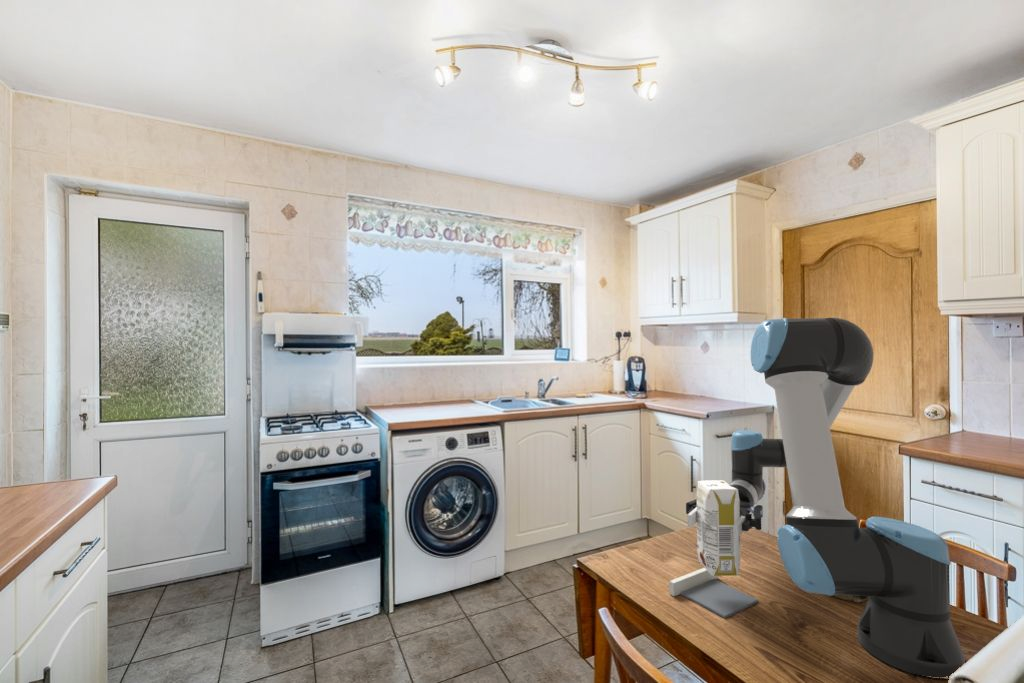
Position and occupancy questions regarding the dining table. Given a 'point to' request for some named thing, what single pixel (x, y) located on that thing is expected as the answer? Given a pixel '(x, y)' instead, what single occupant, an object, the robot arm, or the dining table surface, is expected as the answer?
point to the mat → (719, 598)
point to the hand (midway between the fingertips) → (711, 526)
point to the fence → (690, 581)
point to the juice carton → (718, 527)
